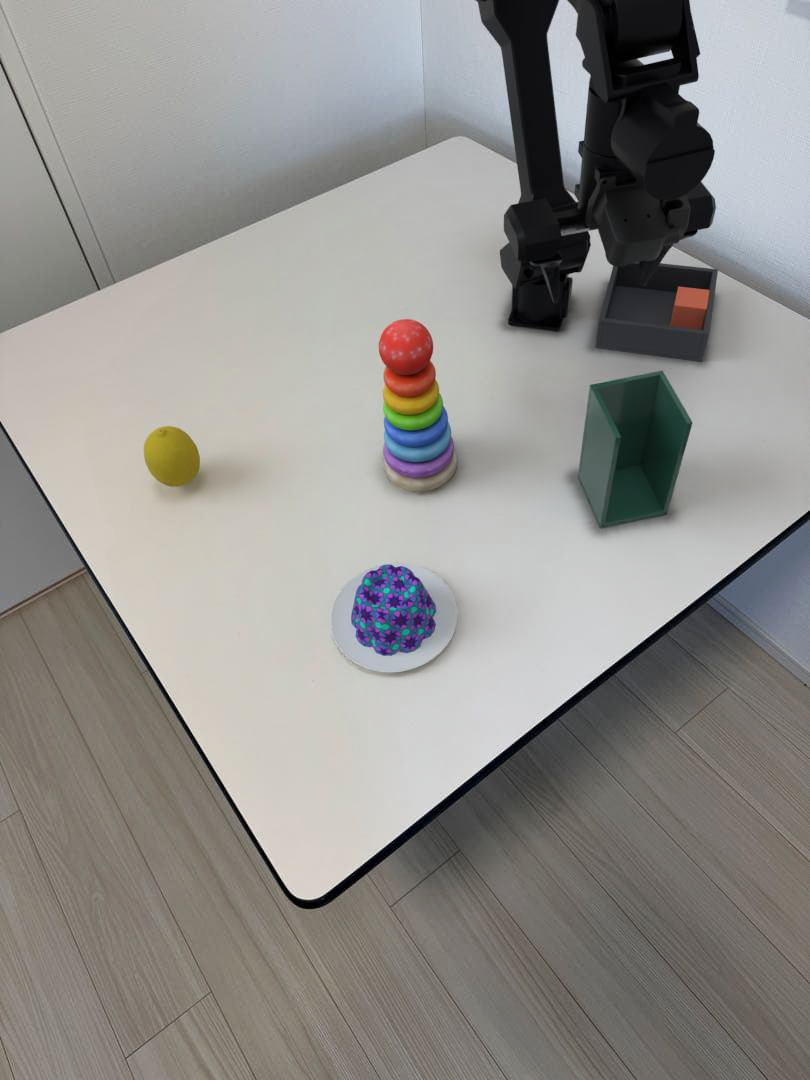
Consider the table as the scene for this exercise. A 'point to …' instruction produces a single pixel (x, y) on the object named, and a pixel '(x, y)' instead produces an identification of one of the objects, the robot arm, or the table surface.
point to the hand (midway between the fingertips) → (598, 292)
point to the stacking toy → (414, 411)
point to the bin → (653, 312)
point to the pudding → (393, 617)
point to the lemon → (171, 456)
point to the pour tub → (632, 448)
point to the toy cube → (690, 308)
